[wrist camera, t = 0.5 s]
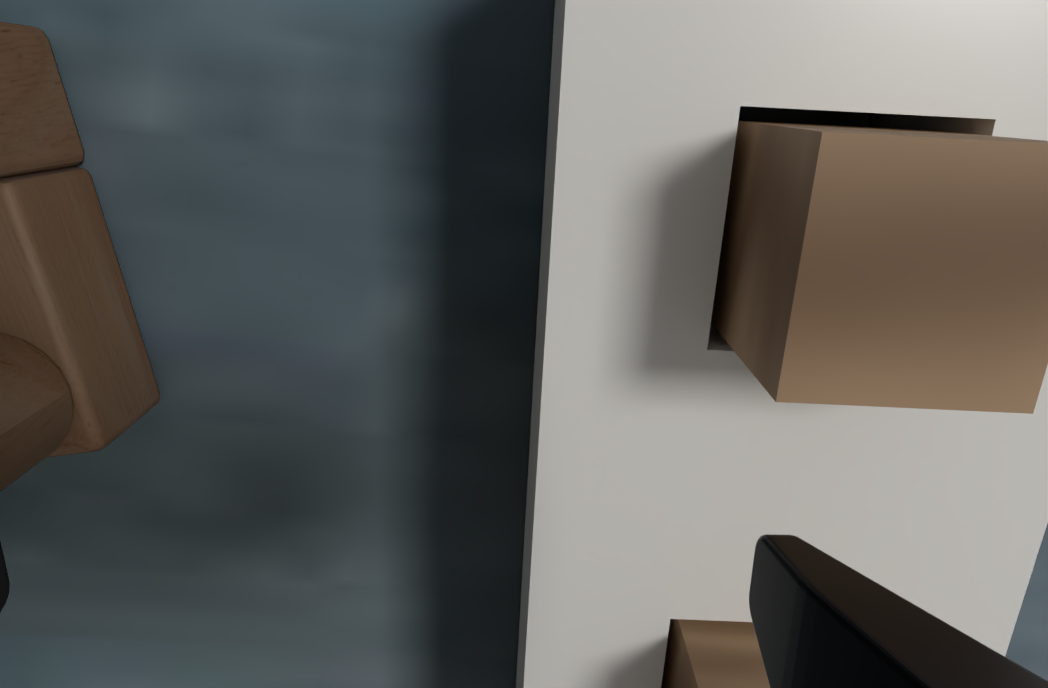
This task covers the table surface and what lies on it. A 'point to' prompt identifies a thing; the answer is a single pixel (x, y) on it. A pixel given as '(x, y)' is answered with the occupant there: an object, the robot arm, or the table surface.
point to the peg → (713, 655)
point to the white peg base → (708, 360)
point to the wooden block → (57, 279)
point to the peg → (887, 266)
